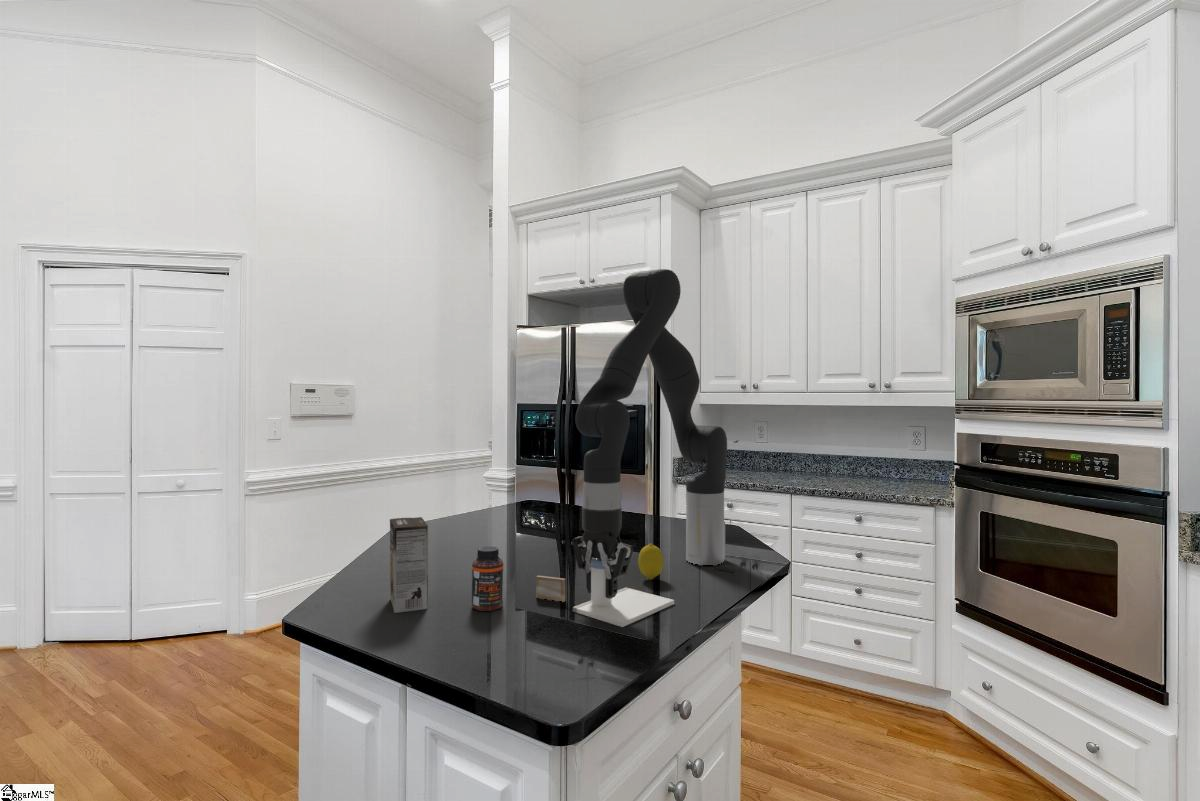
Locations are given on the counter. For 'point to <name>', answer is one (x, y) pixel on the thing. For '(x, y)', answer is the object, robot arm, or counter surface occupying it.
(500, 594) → the supplement bottle
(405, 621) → the counter surface
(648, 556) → the lemon
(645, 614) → the paper pad
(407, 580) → the coffee box
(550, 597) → the word sign
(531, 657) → the counter surface
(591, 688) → the counter surface
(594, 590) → the white blue capped bottle
